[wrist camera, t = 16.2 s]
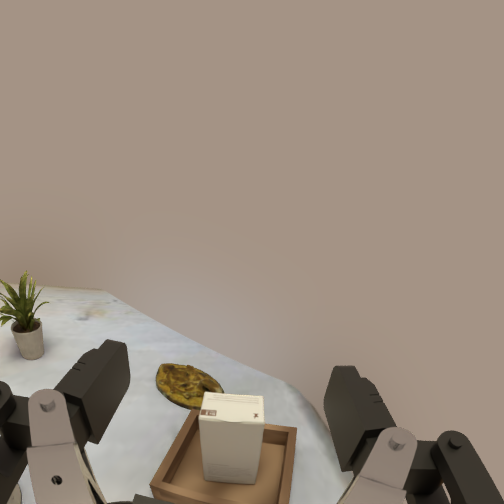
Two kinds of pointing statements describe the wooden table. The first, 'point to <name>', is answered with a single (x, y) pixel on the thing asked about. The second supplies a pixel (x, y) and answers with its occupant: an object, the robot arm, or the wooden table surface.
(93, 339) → the wooden table surface
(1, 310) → the house plant
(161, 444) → the wooden table surface
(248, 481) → the skincare box
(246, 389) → the wooden table surface
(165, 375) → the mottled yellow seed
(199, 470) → the walnut box
